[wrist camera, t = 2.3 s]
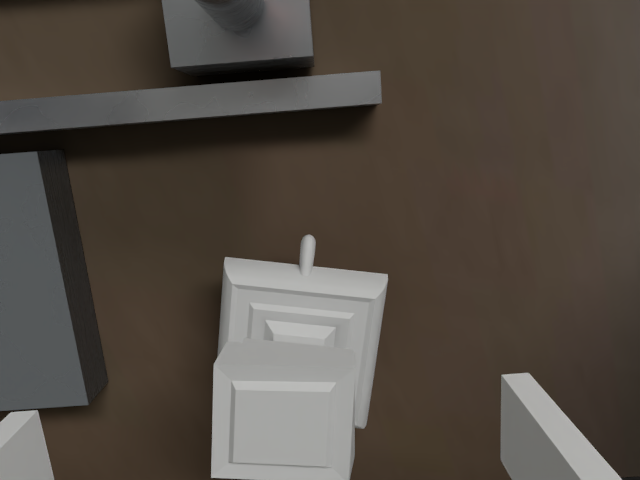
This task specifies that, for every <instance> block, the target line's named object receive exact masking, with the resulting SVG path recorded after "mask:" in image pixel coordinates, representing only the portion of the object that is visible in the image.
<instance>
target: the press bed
mask: <svg viewBox="0 0 640 480" xmlns="http://www.w3.org/2000/svg"><path fill="white" fill-rule="evenodd" d="M107 383H108V378H107V373H106V368H105V363H104V357H103V352H102V347H101V342H100V337H99V331H98V326H97V321H96V316H95V310H94V305H93V300H92V295H91V290H90V284H89V279H88V274H87V269H86V264H85V258H84V253H83V248H82V243H81V237H80V232H79V227H78V222H77V217H76V211H75V206H74V201H73V196H72V191H71V185H70V180H69V175H68V170H67V164H66V159H65V154H64V149H62V150H49V151H36V152H23V153H10V154H0V411H8V410H23V409H37V408H52V407H67V406H81V405H89V404H90V403H91V402H92V400H93V399H94V398H95V397H96V396H97V394H98V393H99V392H100V391H101V390H102V389H103V387H104V386H105V385H106V384H107Z"/></svg>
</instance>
